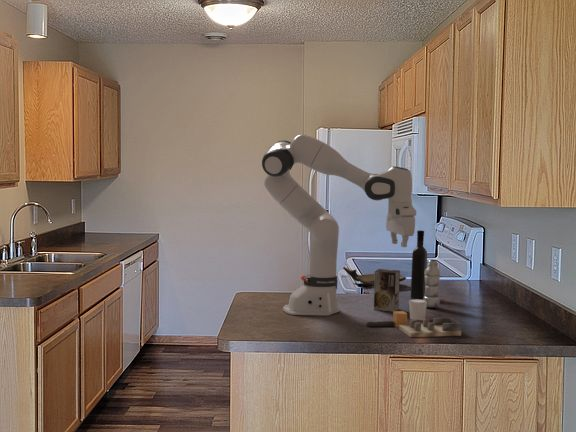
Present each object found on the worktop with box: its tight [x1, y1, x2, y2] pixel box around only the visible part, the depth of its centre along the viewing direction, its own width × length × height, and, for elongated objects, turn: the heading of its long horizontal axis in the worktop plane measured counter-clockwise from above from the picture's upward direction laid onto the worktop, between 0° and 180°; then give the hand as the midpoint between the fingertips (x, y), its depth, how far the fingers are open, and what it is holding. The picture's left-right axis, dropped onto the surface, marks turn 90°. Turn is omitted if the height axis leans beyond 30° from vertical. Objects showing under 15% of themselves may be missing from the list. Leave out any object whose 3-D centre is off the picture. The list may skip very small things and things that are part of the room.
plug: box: [366, 310, 408, 328], centre depth 249 cm, size 15×4×5 cm, turn 101°
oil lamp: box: [343, 266, 407, 288], centre depth 327 cm, size 22×30×8 cm
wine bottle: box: [410, 229, 428, 300], centre depth 299 cm, size 6×6×30 cm
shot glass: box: [408, 298, 427, 321], centre depth 261 cm, size 7×7×7 cm
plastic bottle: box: [422, 259, 441, 309], centre depth 280 cm, size 6×7×20 cm
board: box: [398, 317, 462, 338], centre depth 241 cm, size 20×11×4 cm, turn 101°
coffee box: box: [373, 268, 401, 313], centre depth 275 cm, size 9×6×16 cm
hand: (399, 245), depth 259 cm, fingers open, 8 cm apart
